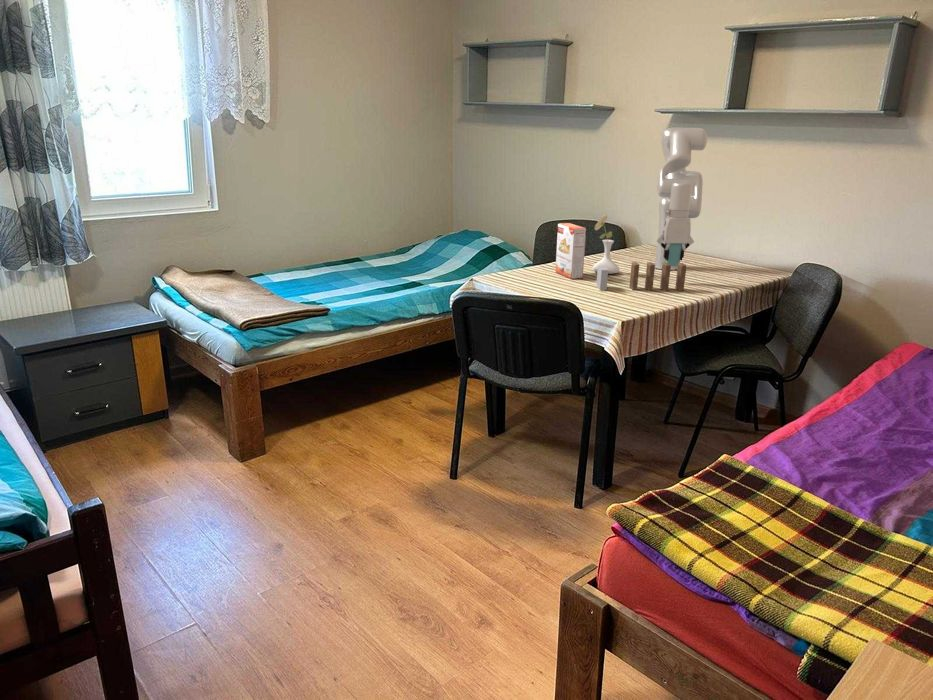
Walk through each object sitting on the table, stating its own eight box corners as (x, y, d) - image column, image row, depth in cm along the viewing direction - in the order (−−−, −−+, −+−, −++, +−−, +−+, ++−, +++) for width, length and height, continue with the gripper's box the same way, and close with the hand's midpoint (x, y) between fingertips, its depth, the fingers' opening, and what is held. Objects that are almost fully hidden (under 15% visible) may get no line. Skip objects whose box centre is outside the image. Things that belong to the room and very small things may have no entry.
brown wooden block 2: (678, 291, 275) (681, 265, 272) (675, 288, 280) (678, 262, 276) (683, 291, 275) (686, 265, 272) (679, 288, 280) (682, 262, 277)
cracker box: (554, 272, 303) (557, 223, 296) (567, 271, 305) (570, 222, 298) (570, 279, 291) (573, 228, 284) (583, 278, 293) (586, 227, 286)
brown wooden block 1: (632, 290, 275) (634, 264, 272) (629, 287, 279) (631, 262, 276) (636, 290, 275) (639, 264, 272) (633, 287, 280) (636, 262, 276)
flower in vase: (605, 269, 312) (610, 211, 304) (624, 274, 303) (630, 214, 295) (583, 272, 305) (587, 213, 297) (602, 277, 296) (607, 216, 288)
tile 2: (663, 290, 275) (666, 265, 272) (659, 287, 280) (662, 262, 276) (668, 290, 275) (670, 265, 272) (664, 287, 280) (667, 262, 276)
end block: (596, 285, 281) (597, 265, 278) (602, 285, 281) (604, 265, 278) (599, 290, 273) (601, 270, 271) (606, 290, 273) (608, 270, 271)
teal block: (665, 264, 288) (668, 240, 285) (678, 264, 288) (681, 240, 285) (667, 265, 286) (669, 240, 283) (679, 265, 286) (682, 241, 283)
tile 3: (647, 290, 275) (650, 264, 272) (644, 287, 280) (647, 262, 276) (652, 290, 275) (655, 265, 272) (649, 287, 280) (651, 262, 276)
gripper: (659, 215, 277) (654, 261, 283) (703, 215, 277) (697, 262, 283) (654, 212, 284) (649, 257, 290) (697, 212, 284) (691, 257, 290)
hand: (673, 259), depth 286 cm, fingers closed on teal block, 4 cm apart
